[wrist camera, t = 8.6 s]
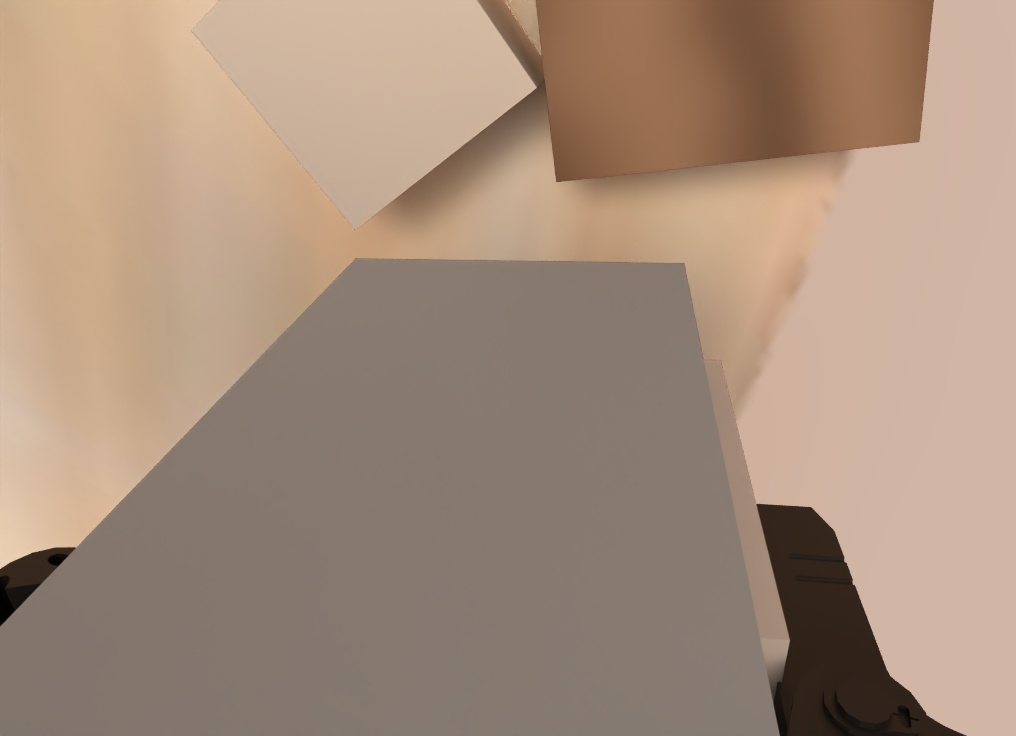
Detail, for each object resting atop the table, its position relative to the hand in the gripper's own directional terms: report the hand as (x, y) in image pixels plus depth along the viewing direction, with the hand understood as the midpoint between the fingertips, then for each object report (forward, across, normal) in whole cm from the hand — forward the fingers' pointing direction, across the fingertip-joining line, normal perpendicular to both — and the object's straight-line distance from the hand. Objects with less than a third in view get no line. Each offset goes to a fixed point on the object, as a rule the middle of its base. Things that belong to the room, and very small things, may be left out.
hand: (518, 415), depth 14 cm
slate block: (0, 0, 0) cm, 0 cm away
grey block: (+17, -6, +6) cm, 19 cm away
